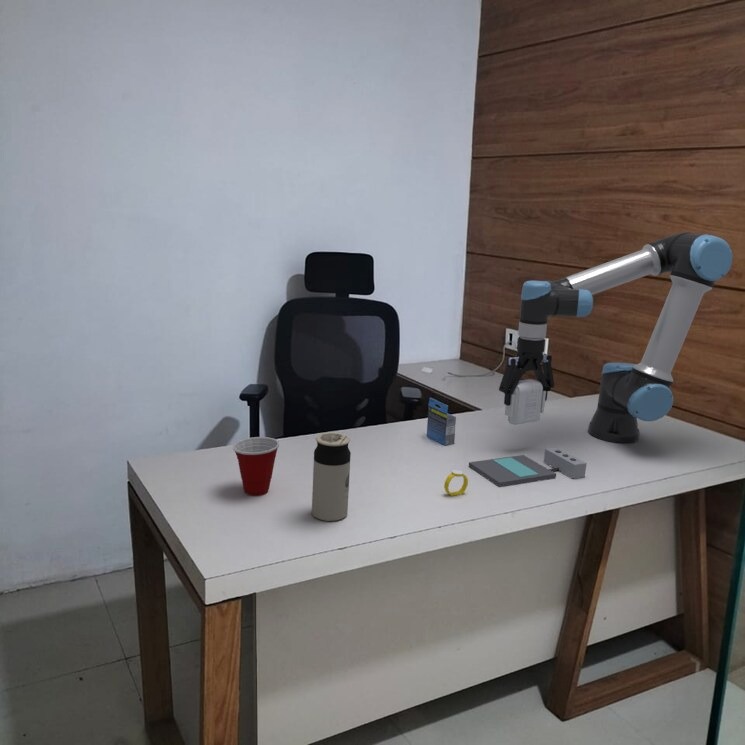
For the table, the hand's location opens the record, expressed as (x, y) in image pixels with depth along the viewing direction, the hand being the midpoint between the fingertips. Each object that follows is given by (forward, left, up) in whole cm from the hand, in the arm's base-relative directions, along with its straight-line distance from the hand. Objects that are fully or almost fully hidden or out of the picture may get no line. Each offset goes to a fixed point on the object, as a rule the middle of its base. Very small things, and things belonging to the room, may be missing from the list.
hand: (524, 413), depth 202 cm
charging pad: (+12, +13, -11) cm, 21 cm away
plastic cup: (+79, +3, -11) cm, 80 cm away
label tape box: (+18, -14, -11) cm, 26 cm away
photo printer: (0, 0, -3) cm, 3 cm away
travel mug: (+67, +20, -11) cm, 71 cm away
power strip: (0, +16, -11) cm, 19 cm away
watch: (+34, +20, -11) cm, 41 cm away
